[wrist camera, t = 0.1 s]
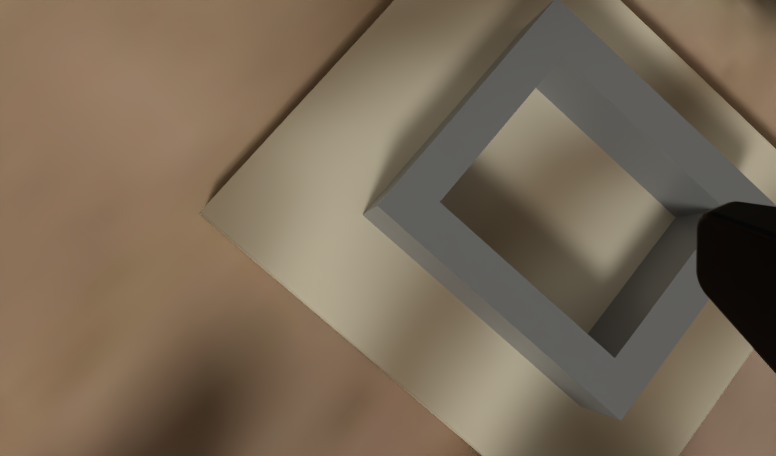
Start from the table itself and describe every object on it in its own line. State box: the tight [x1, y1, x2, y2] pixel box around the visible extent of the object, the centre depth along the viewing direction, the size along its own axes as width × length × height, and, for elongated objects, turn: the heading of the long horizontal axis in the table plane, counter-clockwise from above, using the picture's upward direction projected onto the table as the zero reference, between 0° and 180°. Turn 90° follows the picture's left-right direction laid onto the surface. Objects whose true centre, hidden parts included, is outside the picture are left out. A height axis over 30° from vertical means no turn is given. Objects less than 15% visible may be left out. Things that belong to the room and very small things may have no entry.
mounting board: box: [199, 0, 776, 456], centre depth 23 cm, size 16×14×1 cm
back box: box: [363, 0, 776, 421], centre depth 22 cm, size 9×8×2 cm
